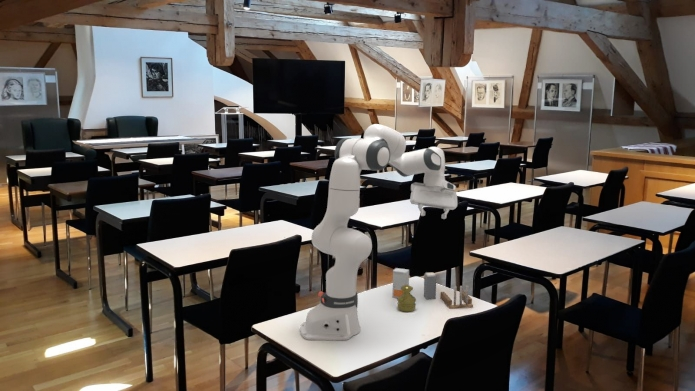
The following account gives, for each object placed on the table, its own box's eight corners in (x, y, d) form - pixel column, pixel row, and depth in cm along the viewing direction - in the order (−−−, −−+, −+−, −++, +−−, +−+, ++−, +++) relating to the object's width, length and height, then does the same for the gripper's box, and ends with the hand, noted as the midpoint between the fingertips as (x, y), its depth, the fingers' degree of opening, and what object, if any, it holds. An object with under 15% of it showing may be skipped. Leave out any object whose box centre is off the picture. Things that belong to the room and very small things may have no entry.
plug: (426, 299, 240) (427, 275, 238) (423, 296, 243) (424, 272, 241) (435, 299, 240) (436, 275, 238) (432, 295, 244) (433, 272, 242)
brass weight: (414, 312, 226) (415, 289, 224) (396, 311, 227) (396, 287, 225) (416, 306, 233) (417, 282, 231) (398, 304, 234) (398, 281, 232)
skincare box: (392, 297, 242) (392, 270, 240) (395, 294, 246) (395, 267, 244) (405, 299, 240) (406, 272, 237) (408, 296, 243) (409, 269, 241)
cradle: (449, 309, 229) (450, 287, 228) (440, 298, 241) (440, 278, 239) (473, 307, 231) (474, 286, 229) (462, 297, 242) (463, 276, 240)
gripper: (414, 179, 234) (412, 211, 230) (459, 186, 239) (459, 218, 235) (408, 183, 240) (407, 215, 236) (452, 190, 245) (452, 221, 241)
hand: (433, 217), depth 236 cm, fingers open, 8 cm apart
